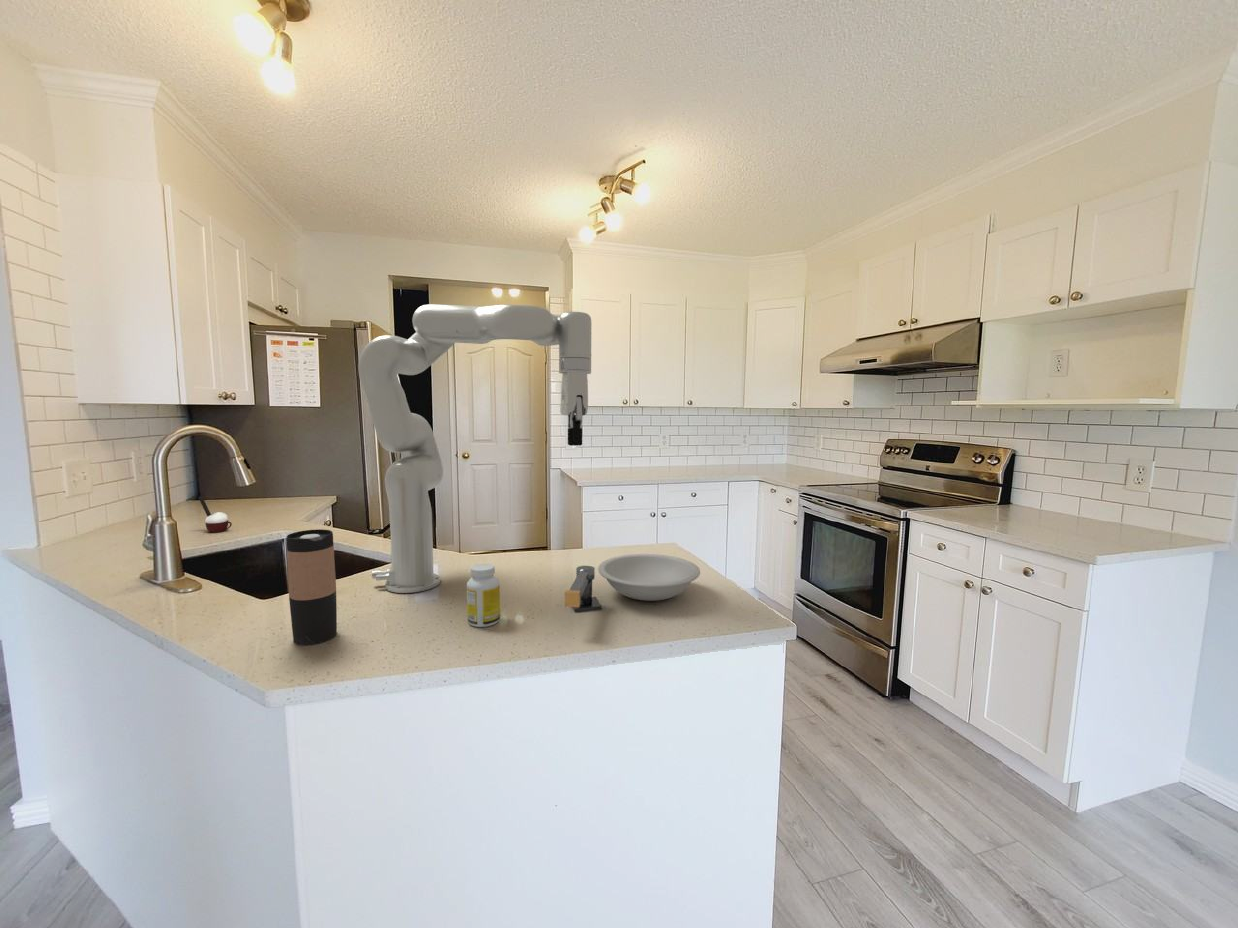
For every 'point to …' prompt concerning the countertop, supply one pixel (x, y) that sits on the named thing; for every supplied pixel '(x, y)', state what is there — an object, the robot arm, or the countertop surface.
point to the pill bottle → (483, 596)
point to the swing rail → (579, 585)
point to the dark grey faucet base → (588, 600)
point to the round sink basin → (649, 575)
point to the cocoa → (215, 520)
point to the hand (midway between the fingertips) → (574, 445)
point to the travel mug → (312, 586)
